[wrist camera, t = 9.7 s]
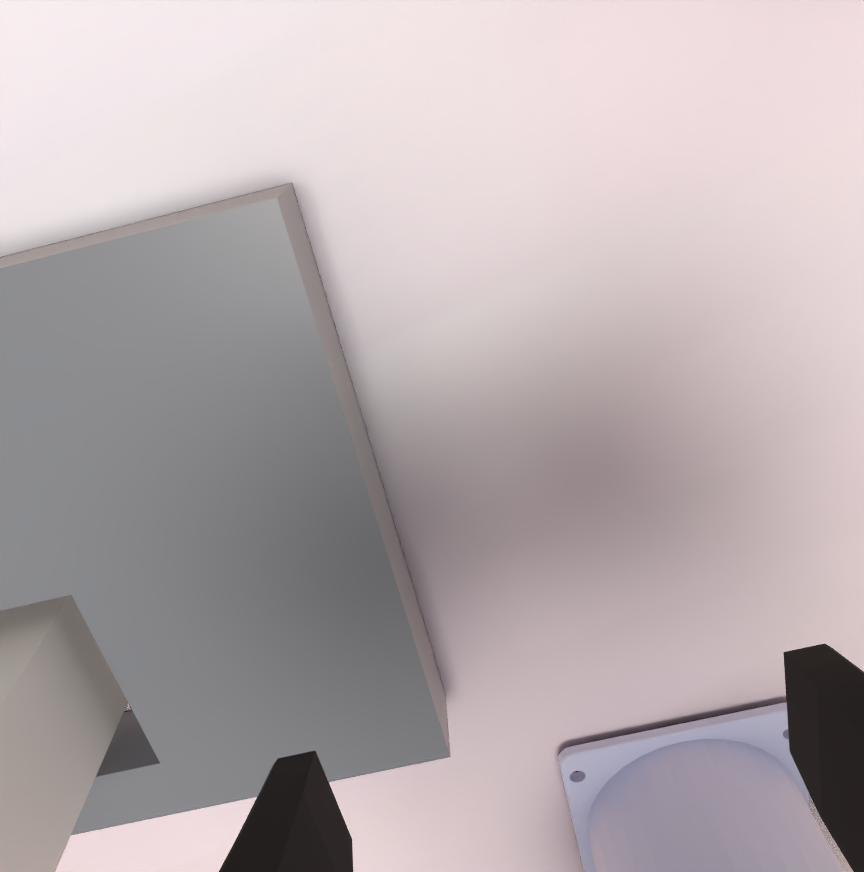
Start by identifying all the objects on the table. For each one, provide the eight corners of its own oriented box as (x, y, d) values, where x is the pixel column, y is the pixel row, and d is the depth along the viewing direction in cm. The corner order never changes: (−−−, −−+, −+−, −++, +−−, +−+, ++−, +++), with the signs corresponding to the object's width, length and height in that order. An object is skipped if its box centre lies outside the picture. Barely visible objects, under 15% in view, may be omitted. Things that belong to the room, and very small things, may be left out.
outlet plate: (445, 694, 25) (450, 756, 23) (-28, 794, 26) (-69, 864, 24) (291, 182, 18) (276, 197, 16) (-336, 343, 19) (-434, 378, 17)
